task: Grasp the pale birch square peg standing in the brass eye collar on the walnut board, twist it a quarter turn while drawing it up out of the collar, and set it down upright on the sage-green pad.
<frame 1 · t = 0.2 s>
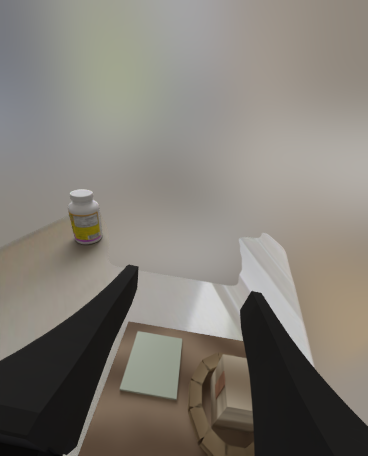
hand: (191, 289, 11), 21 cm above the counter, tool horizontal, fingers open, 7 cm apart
peg: (228, 404, 22), point 1 cm above the counter, touching base board
sage pad: (154, 362, 25), resting on base board
base board: (187, 390, 24), on the counter
supplement bottle: (89, 238, 48), on the counter
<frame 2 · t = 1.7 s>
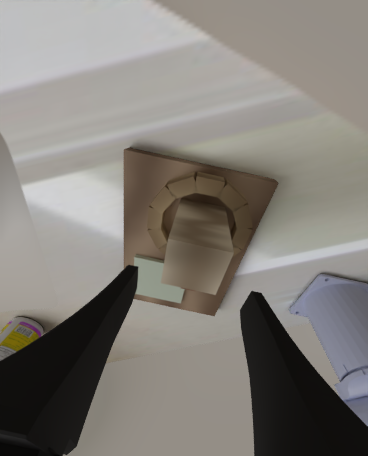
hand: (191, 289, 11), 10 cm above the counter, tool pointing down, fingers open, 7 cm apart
peg: (198, 221, 19), point 1 cm above the counter, touching base board
sage pad: (160, 279, 24), resting on base board
base board: (182, 248, 22), on the counter
supplement bottle: (30, 323, 38), on the counter
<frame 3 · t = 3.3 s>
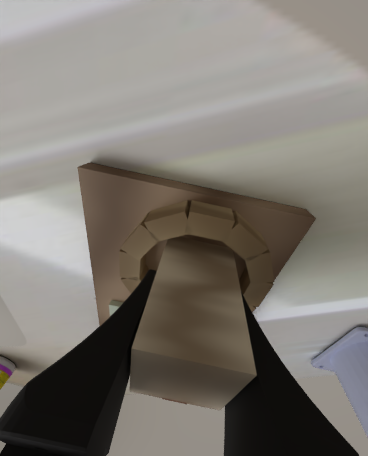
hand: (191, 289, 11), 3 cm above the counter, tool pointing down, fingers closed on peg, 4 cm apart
peg: (193, 264, 13), point 1 cm above the counter, touching base board, gripper
base board: (173, 291, 17), on the counter
supplement bottle: (0, 358, 33), on the counter
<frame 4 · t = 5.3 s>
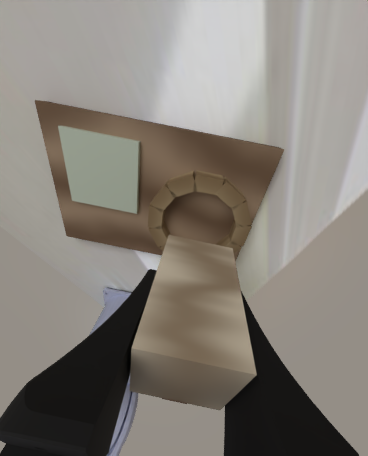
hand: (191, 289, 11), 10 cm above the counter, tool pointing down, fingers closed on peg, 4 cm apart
peg: (193, 264, 13), point 8 cm above the counter, touching gripper
sage pad: (104, 173, 17), resting on base board
base board: (155, 197, 20), on the counter
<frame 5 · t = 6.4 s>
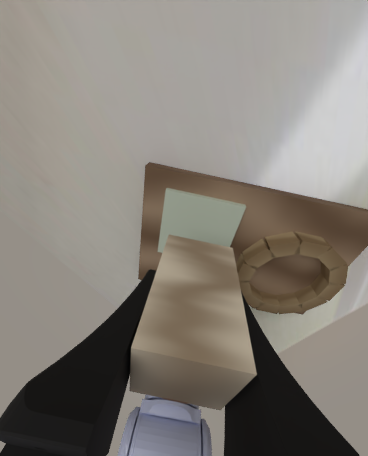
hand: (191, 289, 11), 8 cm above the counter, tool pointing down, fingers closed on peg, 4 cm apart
peg: (194, 264, 13), point 6 cm above the counter, touching gripper
sage pad: (197, 229, 17), resting on base board
base board: (238, 247, 20), on the counter
when the fingers open (5 cm above the counter, at t = 7.4 s): peg drops 1 cm, resting on sage pad.
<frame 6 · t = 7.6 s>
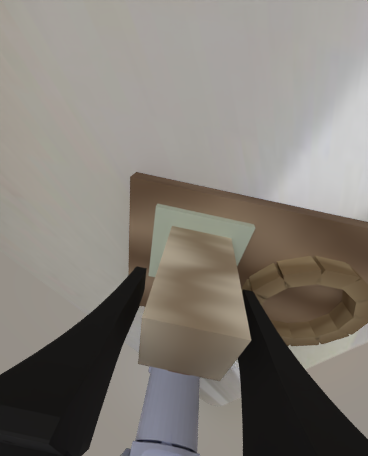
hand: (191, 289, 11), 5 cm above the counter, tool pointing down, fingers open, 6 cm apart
peg: (195, 254, 14), point 2 cm above the counter, touching sage pad
sage pad: (195, 251, 15), resting on base board
base board: (243, 270, 17), on the counter
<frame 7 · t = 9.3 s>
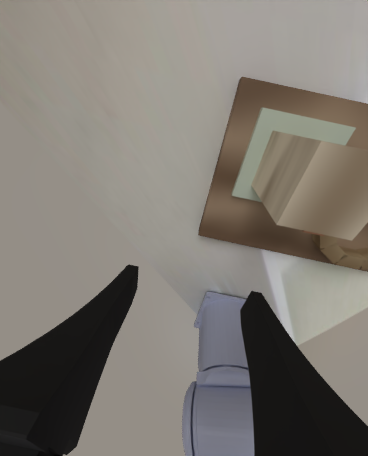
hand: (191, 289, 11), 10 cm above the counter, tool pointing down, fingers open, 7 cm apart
peg: (286, 165, 15), point 2 cm above the counter, touching sage pad
sage pad: (284, 164, 15), resting on base board
base board: (319, 193, 17), on the counter
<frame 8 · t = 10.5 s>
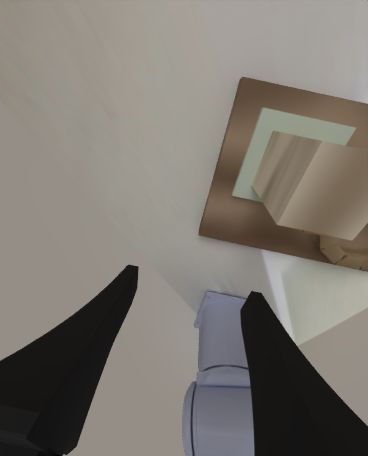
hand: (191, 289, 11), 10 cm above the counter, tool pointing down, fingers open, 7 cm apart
peg: (287, 165, 15), point 2 cm above the counter, touching sage pad
sage pad: (284, 164, 15), resting on base board
base board: (320, 193, 17), on the counter
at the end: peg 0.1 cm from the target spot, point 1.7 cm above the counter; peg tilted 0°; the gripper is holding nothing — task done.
